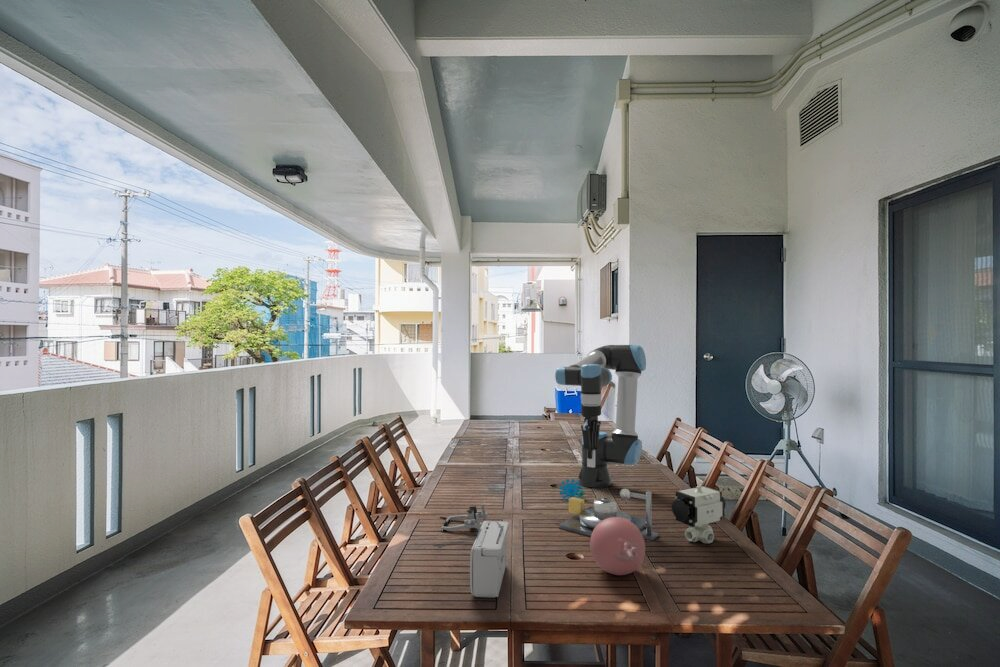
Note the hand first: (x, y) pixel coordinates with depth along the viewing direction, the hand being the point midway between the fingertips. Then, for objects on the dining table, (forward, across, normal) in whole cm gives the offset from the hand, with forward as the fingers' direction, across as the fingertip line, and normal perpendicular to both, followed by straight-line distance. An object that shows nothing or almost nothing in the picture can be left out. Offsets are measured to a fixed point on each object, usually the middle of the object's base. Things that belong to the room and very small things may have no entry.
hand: (591, 466), depth 193 cm
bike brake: (+19, +38, -34) cm, 54 cm away
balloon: (+18, +42, +28) cm, 53 cm away
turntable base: (+18, +8, +9) cm, 22 cm away
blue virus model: (+19, -13, -14) cm, 27 cm away
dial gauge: (+18, +8, +21) cm, 29 cm away
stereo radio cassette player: (+18, +65, 0) cm, 67 cm away
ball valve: (+18, +2, +40) cm, 44 cm away
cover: (+15, +8, +9) cm, 19 cm away
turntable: (+17, +8, +6) cm, 20 cm away
